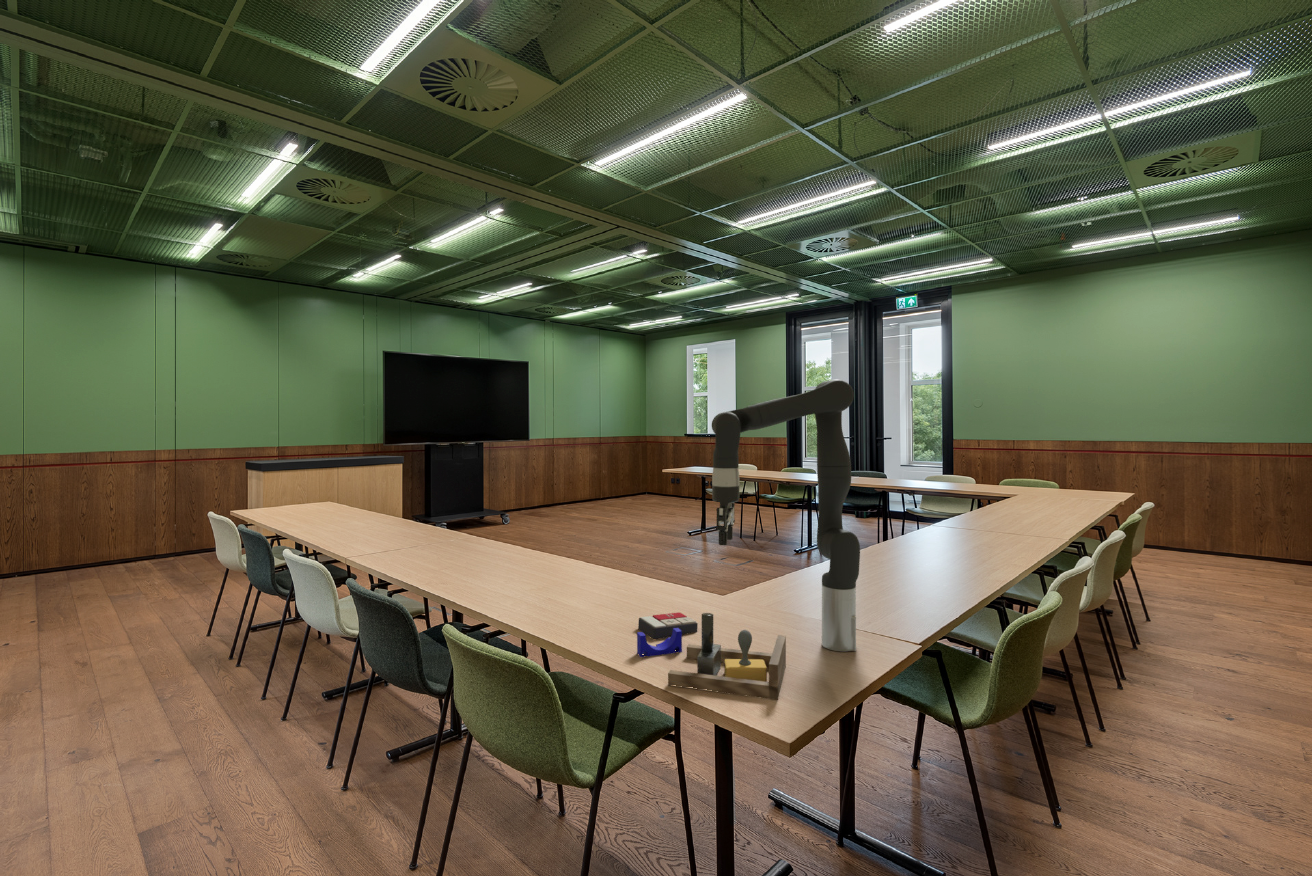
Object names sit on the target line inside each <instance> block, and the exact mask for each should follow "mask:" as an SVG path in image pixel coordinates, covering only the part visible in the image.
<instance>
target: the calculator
mask: <svg viewBox="0 0 1312 876" xmlns="http://www.w3.org/2000/svg"><path fill="white" fill-rule="evenodd" d="M698 625H699V624H698V623H697V621H696V620H695V619H693V618H691V617H689V616H687V615H686V614H683V613H682V612H679V611H678V612H672V613H670V612H669V613H663V614H662V613H661V614H653V615H652V616H650V615H648V616H640V617H639V618H638V630H639V632H643V633H644V634H645V635H646V636H648V638H650V637H651V638H650V639H651V640H653V639H656V640H660V639H667V638H669V637H671V636H672V633H673V628H679V629H680V630H681V631H682V636H683V635H688V634H693V633H697V632H698ZM687 633H688V634H687ZM666 637H667V638H666Z"/></svg>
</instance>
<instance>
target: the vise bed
mask: <svg viewBox="0 0 1312 876" xmlns="http://www.w3.org/2000/svg"><path fill="white" fill-rule="evenodd" d="M786 640H787V636H786V635H781V634H778V635H777V637H776V641H775V644H774V647H773V650H772V652H762V651H754V650H753V651H752V650H749V651H748V659H760V660H764V662H765V665H766V668H768V681H767V682H764V681H756V680H748V679H739V678H731V677H725V676H723V675H716V676H715V675H707V674H699V673H697V672H692V671H691V672H688V671H682V670H681V671H680V670H673V669H670V670H669V671H668V673H667V686H668V685H676V686H682V687H693V688H697V689H696V690H698V689H707V690H712V691H711V692H713V691H718V692H717V693H721V694H722V693H723V694H728V693H730V694H729V695H737V696H744V695H747V696H746V697H752V698H759V697H761V698H762V699H768V700H776V701H778V700H779V697H780V692H781V688H782V683H783V680H784V675H785V673H786V672H785V671H786V667H787V660H786V659H787V654H786V653H787V644H786V643H787V641H786ZM701 650H702V645H696V644H690V643H689V644H688V645H687V646H686V659H691V660H692V659H694V660H697V656H698V655H699V653H700V652H701ZM725 659H742V651H741V649H733V648H727V647H725V648H724V647H721V663H724V660H725ZM682 687H681V688H682Z"/></svg>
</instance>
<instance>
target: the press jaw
mask: <svg viewBox="0 0 1312 876" xmlns="http://www.w3.org/2000/svg"><path fill="white" fill-rule="evenodd" d="M701 646H702V650H701V652H700V653H699V655H698V656H697V659H696V660H697V661H696V662H697V663H696V664H697V672H696V673H699V674H707V675H715V676H718V675H717V674H718V672H719V671H720V669H721V667H722V662H721V648H722V645H721V644H715V643H714V614H713V613H712V612H703V613H701Z"/></svg>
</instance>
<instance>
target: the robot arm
mask: <svg viewBox="0 0 1312 876" xmlns="http://www.w3.org/2000/svg"><path fill="white" fill-rule="evenodd" d="M854 393H855V392H854V389H853V388H852V385H850V384H849V383H848V382H846V381H845V380H843V379H836V378H835V379H830V380H826V381H825V380H824V381H822V382H819V384H817V385H816V387H815V388H814V389H812V390H809V391H807V392H803V393H799V394H795V395H790V396H786V397H785V396H784V397H780V398H774V399H771V400H766V401H761V402H758V403H755V404H751V405H748V406H745V407H744V408H739V409H738V408H737V409H734V410H728V411H724V412H720V413H718V414H716V415H715V416H714V417H713V419H712V421H711V429H712V432H713V433H714V434H715V440H714V441H715V444H714V445H715V447H714V449H713V456H712V468H713V469H712V474H711V475H712V477H711V479H712V480H711V481H712V482H711V483H712V485H711V486H712V492H711V493H712V494H711V495H712V501H713V502H716V503H719V507H716V527H715V529H716V531H717V532H718V545H719V546H727V544H728V541H731V540H733V533H734V532H733V530H734V528H733V526H734V525H735V522H736V520H735V505H736V504H735V503H737V502H739V501H740V471H739V469H740V468H739V467H740V466H739V447H740V439H741V433H744V432H747V431H756V430H761V429H764V428H768V427H771V426H775V425H779V424H782V423H786V422H789V421H791V420H795V419H799V418H803V417H806V416H810V415H814V418H815V424H816V425H815V426H816V473H817V474H816V475H817V488H818V489H817V492H818V493H817V494H818V496H817V499H818V501H817V502H818V519H817V531H816V547H817V550H818V552H819V553H820V555H821V556H823V557H824V558H826V559H827V560H829V570H828V571H826V572H824V573H823V574H822V576H821V646H822V647H823V648H825V649H828V650H831V651H836V652H856V651H857V632H856V631H857V611H856V610H857V606H856V605H857V602H856V599H857V595H856V592H857V591H856V590H857V581H858V578H859V574H860V561H861V560H860V559H861V546H860V540H859V537H858V536H857V535H856V534H855V533H853V532H852V531H849V530H847V529H844V528H843V507H844V503H845V502H846V501H845V500H846V498H847V497H848V493H849V491H850V490H851V489H850V487H851V484H852V466H851V465H852V463H851V462H852V461H851V456H850V451H849V449H848V445H847V443H846V440H845V436H844V432H843V425H842V422H843V416H842V415H843V411H845V410H847V409H848V408H849V407H850V406H851V405H852V403H853V401H854V397H855V396H854V395H855V394H854Z"/></svg>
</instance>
